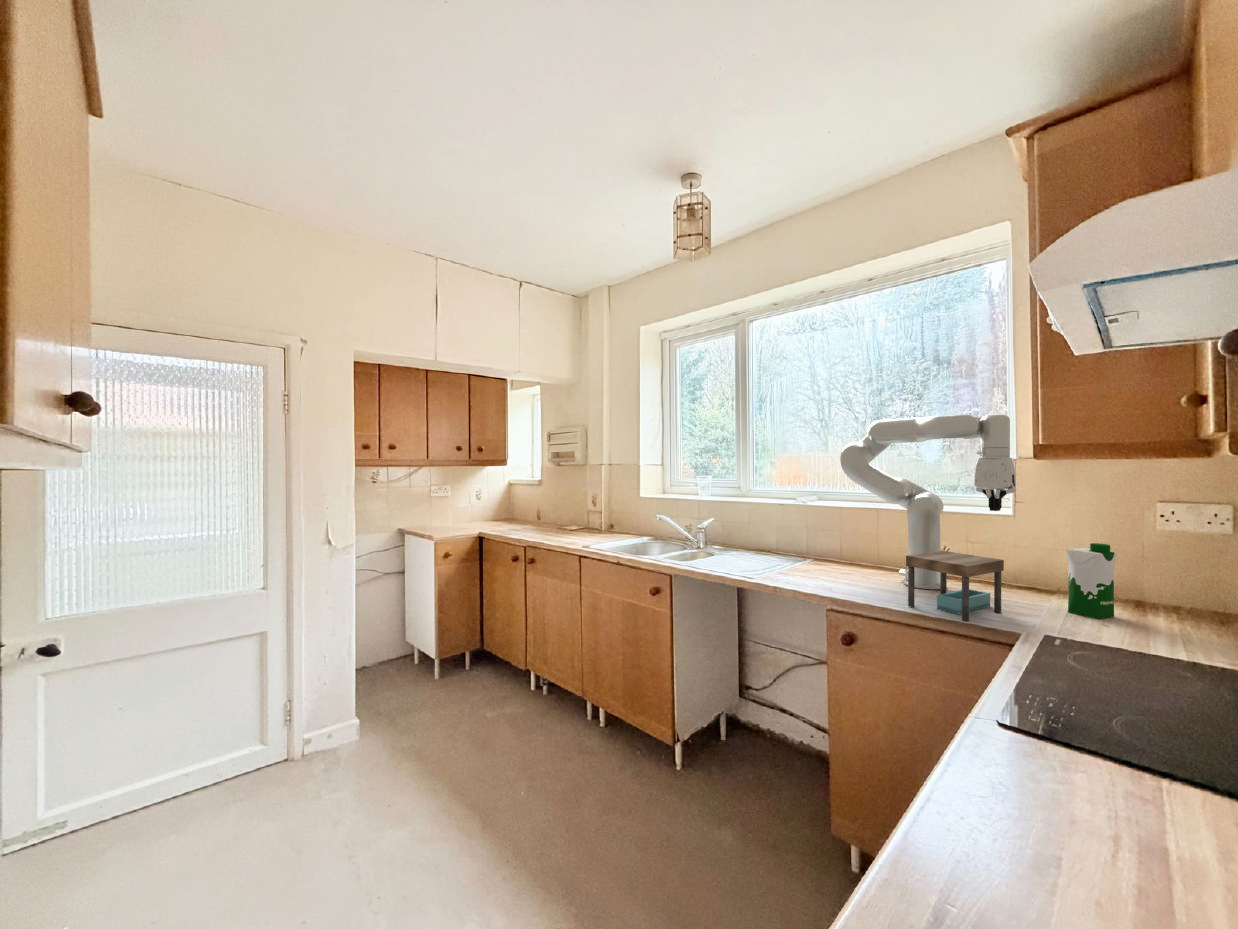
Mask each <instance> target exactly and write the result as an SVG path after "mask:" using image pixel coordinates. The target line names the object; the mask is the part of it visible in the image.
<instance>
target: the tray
mask: <svg viewBox="0 0 1238 929" xmlns="http://www.w3.org/2000/svg"><path fill="white" fill-rule="evenodd" d="M990 607H991V593H990V592H985V591H980V590H975V589H971V588H969V613H972V612H976V611H979V610H984V609H988V608H990ZM936 609H937V610H939V609H942V610H941V611H943V610H945V611H944V612H947V611H948V613H952V614H955V613H957V614H956V615H959V616H962V589H959V590H954V591H948V592H946V593H945V594H940V593H939V594H937V595H936Z"/></svg>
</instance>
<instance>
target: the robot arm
mask: <svg viewBox="0 0 1238 929" xmlns="http://www.w3.org/2000/svg"><path fill="white" fill-rule="evenodd" d="M977 438H979V439H980V448H979V450H977V451H976V454H977V455H979V456H980V457H978V458H977V460H976V464H975V472H974V481H973V482H974V487H975V490H976V492H980V493H981V494H984V495H985V496H986V498H987V499H988V508H989V511H991V512H999V511H1000V512H1001V509H1002V501H1003V500H1002V499H1004V498H1005V496H1007V495H1008V494H1014V493H1015V492H1016V489H1015V488H1016V484H1017V483H1016V482H1017V481H1016V469H1015V463H1014V460H1013V457H1011V419H1010V417H1009V416H1008V415H1006V414H991V415H990V414H988V415H985V416H982V417H980V416H977V417H976V416H973V415H969V414H955V415H954V414H953V415H939V416H927V417H926V416H925V417H923V416H922V417H911V418H910V417H909V418H894V419H881V420H875V421H873V422H872V423H871V424H869V426H868V429H867V434H866V435H865V436H864V437H863V438H862V439H861V440H860V441H859V442H851V443H848V444H846V445H845V446H844V447H843V448H842V450H841V452H840V456H839V458H840V465H841V466H840V467H841V468H842V471H843V472H844V474H845V475H846V477H847V478H849V479H850V480H851V481H852V482H854V483H855V484H856V485H858V486H860V487H862V488H864V489H865V490H867V491H869V492H870V493H872V494H873V495H875V496H877V497H878V498H881V500H883V501H885V502H887V503H888V504H890V505H898V506H900V507H902V508H904V509H906V516H907V533H908V536H907V539H908V540H907V541H908V542H907V544H908V553H907V554H908V555H915V554H922V553H929V552H937V551H941V515H942V513H943V511H944V503H943V500H942V499H941V498H940V496H938V495H937V494H935V493H933V492H931V491H929V490H928V489H926V488H923V487H922V486H920V485H918V484H917V483H914V482H912V481H910V480H908V479H906V478H905V477H904V478H903V477H900V476H899V477H895V476H893V475H891V474H888V473H886V472H884V471H882V470H881V469H879V468H878V467H875V466H873V465H871V464H870V463H871V462H873V460H874V459H876V458H877V457H878V456H879V455H880V454H881V453H883V452H884V451H885V450H886V449H887V448H888V447H889V446H891V444H898V443H899V444H900V443H901V444H903V443H921V442H926V441H932V440H941V439H944V440H945V439H964V440H970V439H977ZM898 575H899V576H903V577H904V579H903V580H902V582H903V583H902V584H904V585H905V586H908V569H904V568H900V569H899V571H898ZM914 588H915V589H923V590H924V589H925V590H940V572H937V571H931V570H926V569H921V568H915V574H914Z"/></svg>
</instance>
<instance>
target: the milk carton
mask: <svg viewBox="0 0 1238 929" xmlns="http://www.w3.org/2000/svg"><path fill="white" fill-rule="evenodd" d="M1089 545H1090V546H1089V548H1088V547H1087V548H1086V547H1079V548H1069V549H1066V555H1067V561H1068V563H1067V564H1068V594H1067V595H1068V597H1067V599H1068V601H1067V604H1068V606H1067V613H1070V614H1075V615H1079V616H1082V617H1086V616H1088V617H1087V618H1090V617H1091V619H1094V618H1095V619H1096V620H1103V619H1107V618H1108V619H1110V618H1115V596H1114V595H1115V588H1114V587H1115V586H1114V585H1115V564H1116V560H1117V559H1116V558H1117V555H1118V552H1116V551H1111V544H1108V543H1107V544H1106V543H1098V542H1097V543H1095V542H1093V543H1091V542H1090V544H1089ZM1095 619H1094V620H1095Z"/></svg>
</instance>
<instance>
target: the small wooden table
mask: <svg viewBox="0 0 1238 929" xmlns="http://www.w3.org/2000/svg"><path fill="white" fill-rule="evenodd" d="M1004 564H1005V560H1004V559H1001V558H1000V559H999V558H993V557H986V556H980V555H973V554H967V553H959V552H952V551H945V550H940V551H937V552H929V553H922V554H915V555H905V566H906V567H908V568H907V570H908V585H907V587H908V588H907V590H908V591H907V605H908V606H911V607H910V608H915V587H914V574H915V568H921V569H926V570H931V571H937V572H940V589H939V590H940V593H939V595H940V594H945V593H947V586H948V585H947V583H948V582H947V574H948V575H954V576H958V577H961V590H962V615H961V621H963V622H965V623H966V622H968V621H969V622H970V612H969V589H970V578H971V577H978V576H980V575H988V574H993V576H994V578H993V579H994V580H993V581H994V582H993V583H994V584H993V585H994V586H993V587H994V588H993V590H994V591H993V593H994V594H993V596H994V598H993V599H994V600H993V604H994V607H993V608H994V609H993V610H994V611H993V612H994V613H995V614H1002V572H1004V570H1005V568H1004V566H1005V565H1004Z"/></svg>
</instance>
